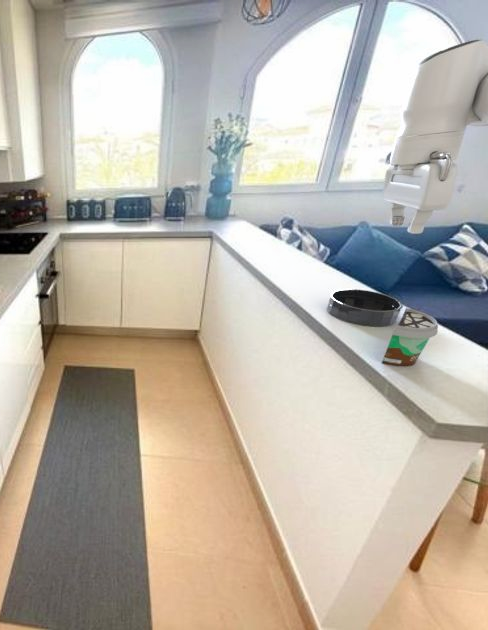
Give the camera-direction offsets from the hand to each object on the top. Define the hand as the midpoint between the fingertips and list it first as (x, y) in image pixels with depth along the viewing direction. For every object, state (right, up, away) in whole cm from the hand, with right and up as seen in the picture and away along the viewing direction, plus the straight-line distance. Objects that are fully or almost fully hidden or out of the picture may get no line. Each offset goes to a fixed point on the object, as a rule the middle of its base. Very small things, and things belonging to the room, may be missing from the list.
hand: (404, 228), depth 68 cm
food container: (+9, -27, +9) cm, 30 cm away
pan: (+16, -17, +30) cm, 38 cm away
